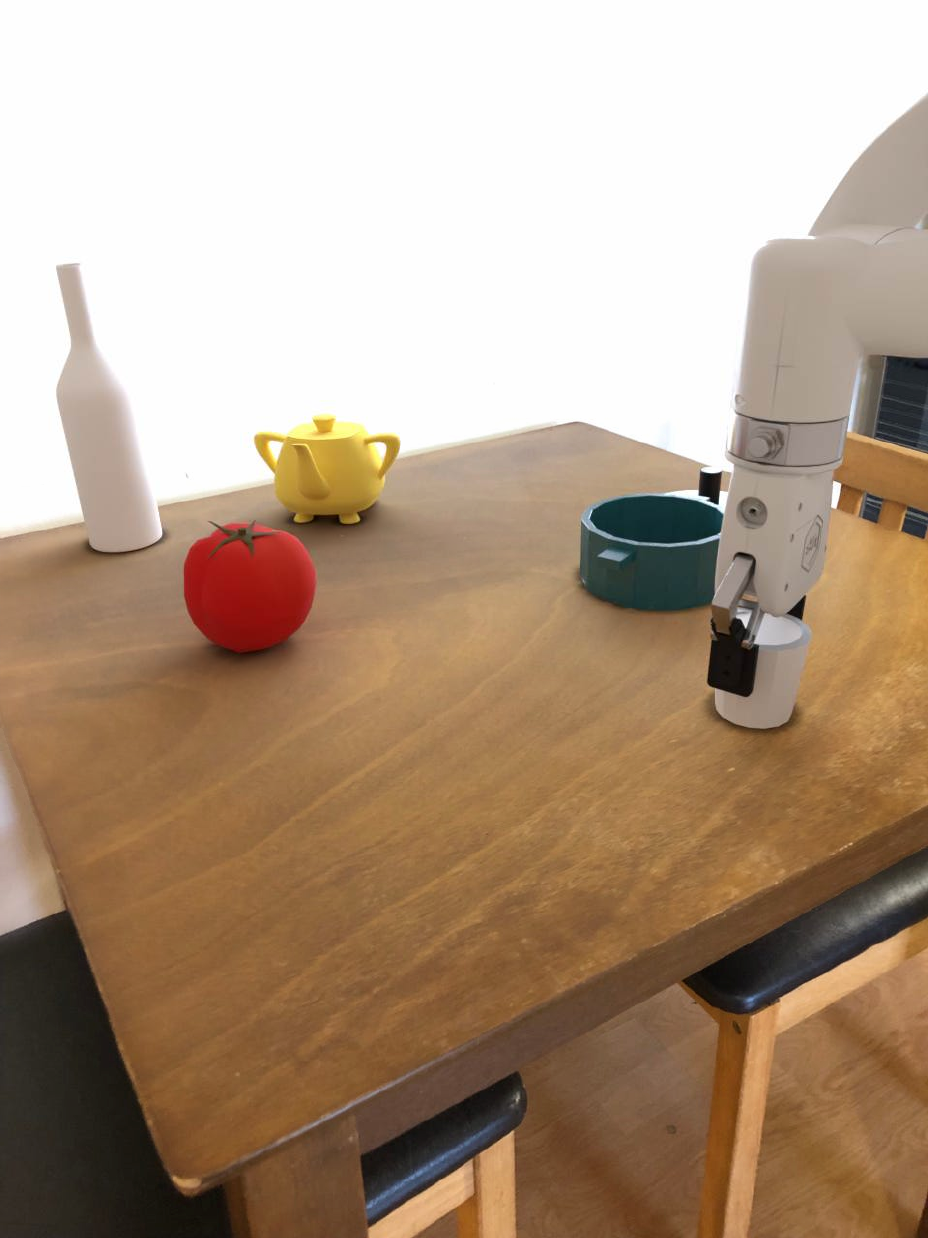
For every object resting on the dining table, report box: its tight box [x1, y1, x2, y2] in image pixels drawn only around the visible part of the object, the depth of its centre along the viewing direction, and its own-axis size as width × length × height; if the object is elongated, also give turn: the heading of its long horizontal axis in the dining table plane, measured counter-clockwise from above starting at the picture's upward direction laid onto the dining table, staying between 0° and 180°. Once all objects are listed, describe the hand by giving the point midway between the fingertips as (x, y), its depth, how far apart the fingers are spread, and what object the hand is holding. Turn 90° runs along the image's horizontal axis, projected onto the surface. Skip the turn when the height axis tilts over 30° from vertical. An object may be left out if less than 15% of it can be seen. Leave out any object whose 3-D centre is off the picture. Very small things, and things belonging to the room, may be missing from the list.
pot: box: [579, 492, 725, 612], centre depth 92 cm, size 15×20×6 cm
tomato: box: [183, 519, 317, 654], centre depth 82 cm, size 12×12×11 cm
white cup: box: [714, 610, 813, 730], centre depth 70 cm, size 7×7×7 cm
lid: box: [664, 466, 728, 508], centre depth 106 cm, size 16×16×6 cm
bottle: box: [55, 262, 163, 553], centre depth 101 cm, size 8×8×30 cm
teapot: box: [253, 413, 401, 525], centre depth 112 cm, size 14×14×12 cm
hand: (754, 662), depth 70 cm, fingers open, 9 cm apart
